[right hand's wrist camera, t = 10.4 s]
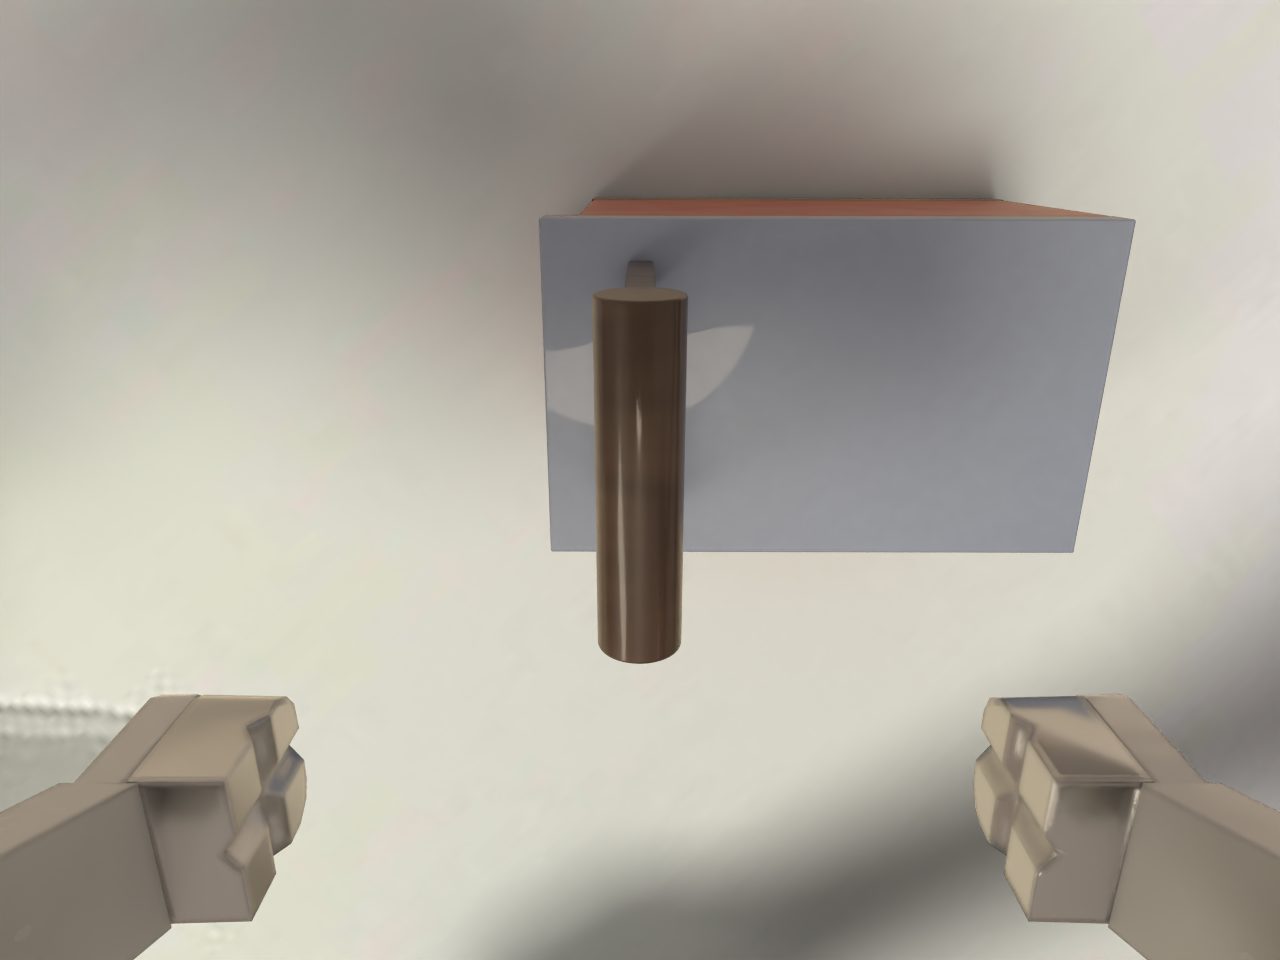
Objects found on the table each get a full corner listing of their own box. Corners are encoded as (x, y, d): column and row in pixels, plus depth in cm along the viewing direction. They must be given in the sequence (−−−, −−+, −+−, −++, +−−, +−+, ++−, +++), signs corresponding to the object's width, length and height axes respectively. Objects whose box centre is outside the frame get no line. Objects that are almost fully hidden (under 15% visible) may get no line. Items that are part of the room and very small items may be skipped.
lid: (554, 536, 28) (517, 701, 20) (543, 215, 25) (492, 249, 16) (1056, 537, 28) (1233, 703, 20) (1114, 216, 25) (1357, 251, 16)
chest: (597, 447, 37) (583, 535, 28) (593, 198, 33) (576, 214, 25) (961, 448, 37) (1056, 536, 28) (995, 198, 33) (1113, 215, 25)
